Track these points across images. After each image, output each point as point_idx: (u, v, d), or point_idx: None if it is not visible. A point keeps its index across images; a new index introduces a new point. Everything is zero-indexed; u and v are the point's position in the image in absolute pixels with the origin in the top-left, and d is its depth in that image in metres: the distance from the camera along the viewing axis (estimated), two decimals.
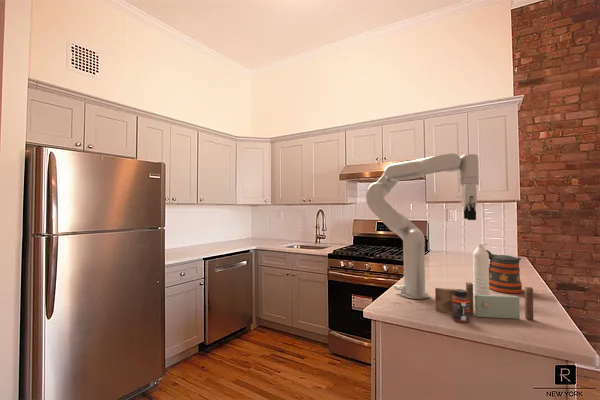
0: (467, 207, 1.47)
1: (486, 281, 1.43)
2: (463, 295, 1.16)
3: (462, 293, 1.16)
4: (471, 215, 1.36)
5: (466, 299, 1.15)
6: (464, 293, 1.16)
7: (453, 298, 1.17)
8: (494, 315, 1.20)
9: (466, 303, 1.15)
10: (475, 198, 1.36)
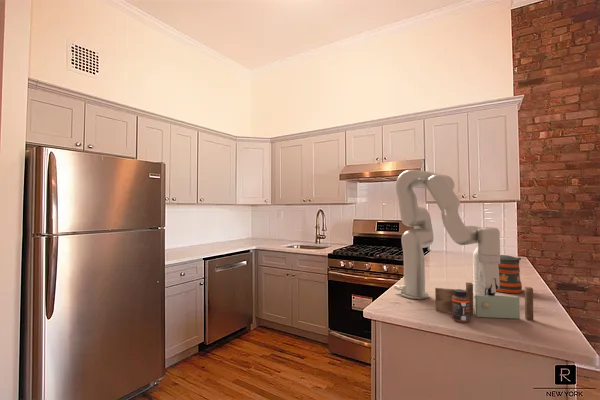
0: None
1: None
2: (463, 295, 1.16)
3: (462, 293, 1.16)
4: None
5: (466, 299, 1.15)
6: (464, 293, 1.16)
7: (453, 298, 1.17)
8: (494, 315, 1.19)
9: (466, 303, 1.15)
10: (498, 281, 1.19)
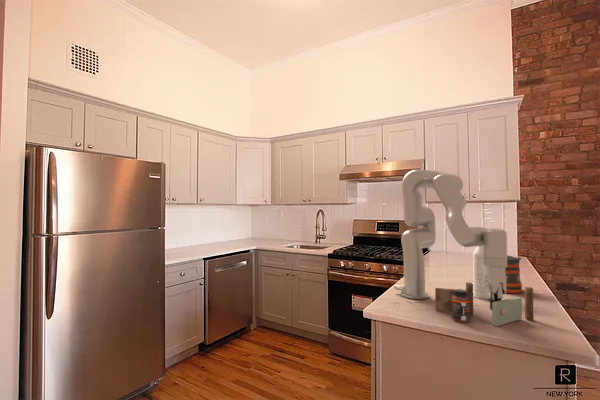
0: None
1: None
2: (463, 295, 1.16)
3: (462, 293, 1.16)
4: None
5: (466, 299, 1.15)
6: (464, 293, 1.16)
7: (453, 298, 1.17)
8: (507, 321, 1.14)
9: (466, 303, 1.15)
10: (505, 285, 1.13)
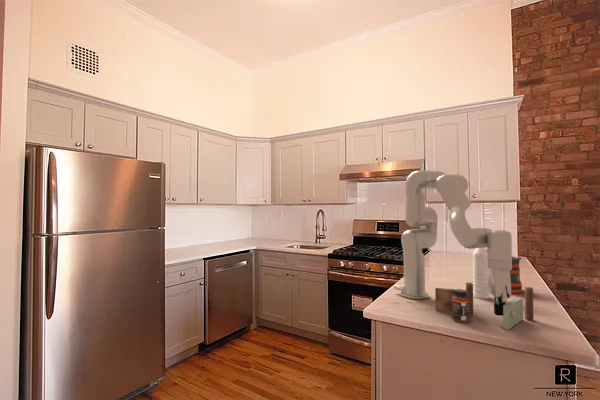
0: None
1: (486, 281, 1.43)
2: (463, 295, 1.16)
3: (462, 293, 1.16)
4: (500, 310, 1.12)
5: (466, 299, 1.15)
6: (464, 293, 1.16)
7: (453, 298, 1.17)
8: (514, 323, 1.12)
9: (466, 303, 1.15)
10: (509, 289, 1.09)
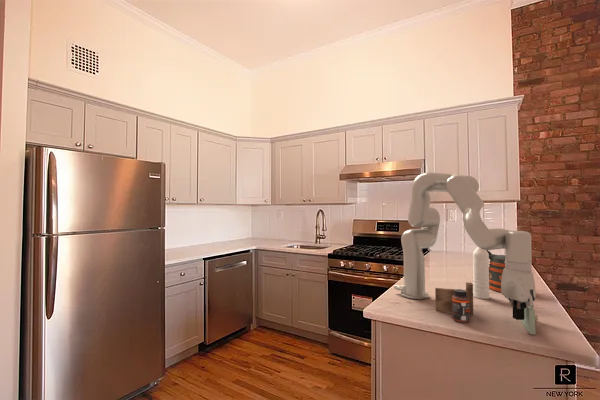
0: None
1: (486, 281, 1.43)
2: (463, 295, 1.16)
3: (462, 293, 1.16)
4: (521, 314, 1.07)
5: (466, 299, 1.15)
6: (464, 293, 1.16)
7: (453, 298, 1.17)
8: None
9: (466, 303, 1.15)
10: (534, 292, 1.04)
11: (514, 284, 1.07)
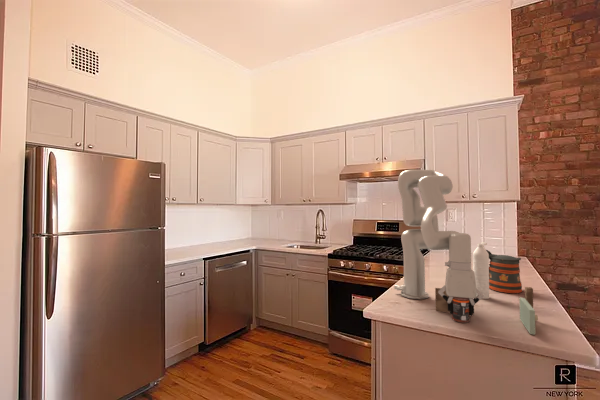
0: (449, 297, 1.19)
1: (486, 281, 1.43)
2: None
3: None
4: None
5: (466, 299, 1.15)
6: None
7: (453, 298, 1.17)
8: None
9: (465, 303, 1.15)
10: None
11: (465, 283, 1.15)
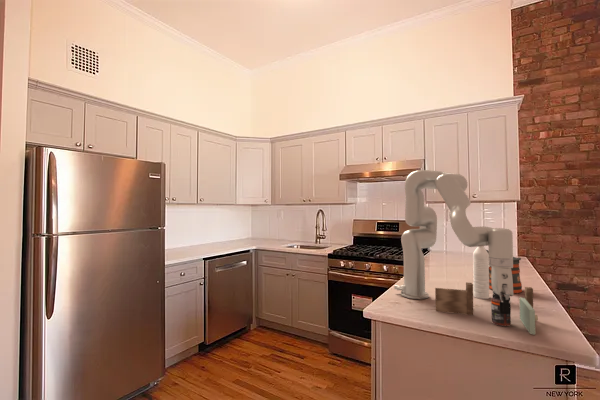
0: None
1: (486, 281, 1.43)
2: None
3: None
4: None
5: None
6: None
7: None
8: None
9: None
10: None
11: None
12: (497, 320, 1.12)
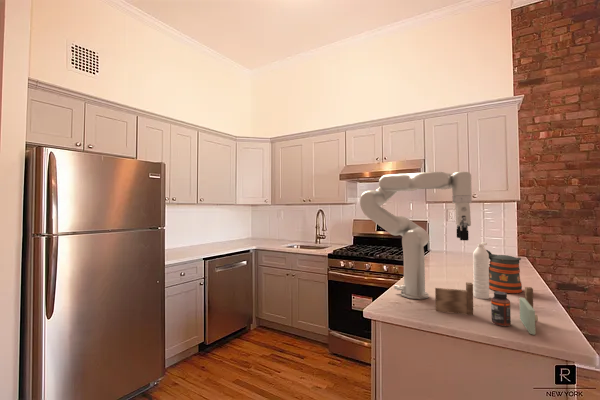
0: None
1: (486, 281, 1.43)
2: None
3: None
4: None
5: None
6: None
7: (506, 303, 1.11)
8: None
9: None
10: None
11: None
12: (497, 320, 1.12)
